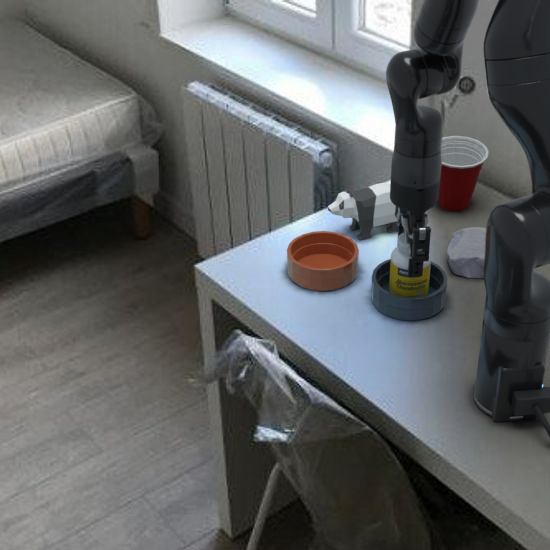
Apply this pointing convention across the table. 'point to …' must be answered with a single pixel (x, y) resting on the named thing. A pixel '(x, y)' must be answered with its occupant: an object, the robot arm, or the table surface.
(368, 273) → the table surface
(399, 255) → the pill bottle
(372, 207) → the giant panda
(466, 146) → the plastic cup
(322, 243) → the terracotta bowl
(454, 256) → the stone block
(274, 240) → the table surface
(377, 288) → the metal bowl
